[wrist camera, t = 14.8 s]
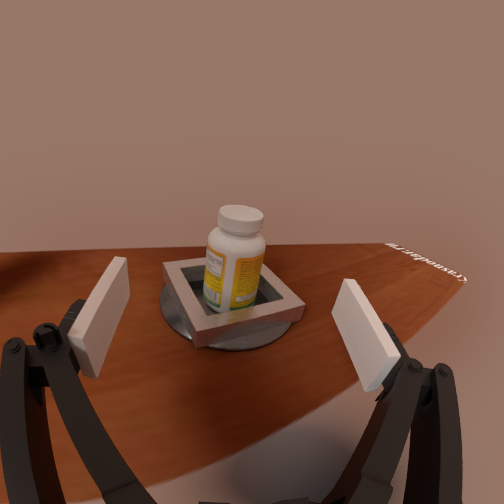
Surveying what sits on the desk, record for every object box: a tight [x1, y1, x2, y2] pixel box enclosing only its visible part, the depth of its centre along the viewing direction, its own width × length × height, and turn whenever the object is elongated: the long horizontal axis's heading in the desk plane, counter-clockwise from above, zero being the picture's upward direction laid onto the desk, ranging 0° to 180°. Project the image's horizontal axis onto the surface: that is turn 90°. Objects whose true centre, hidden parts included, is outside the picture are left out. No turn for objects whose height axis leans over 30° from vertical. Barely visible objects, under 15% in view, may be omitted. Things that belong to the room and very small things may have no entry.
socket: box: [160, 257, 306, 352], centre depth 29 cm, size 14×14×2 cm
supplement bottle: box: [203, 205, 266, 313], centre depth 27 cm, size 5×5×10 cm
